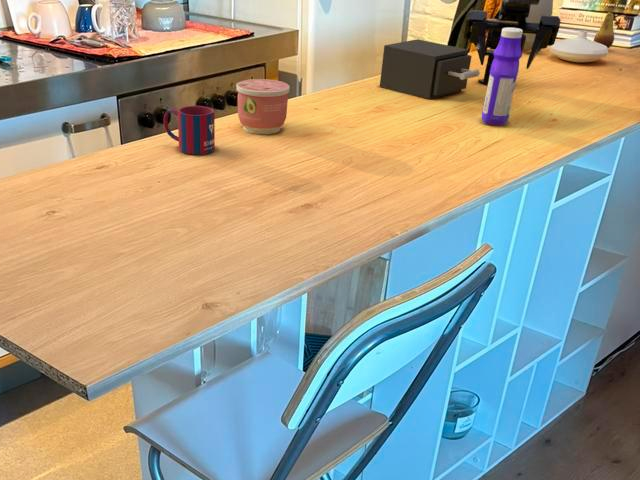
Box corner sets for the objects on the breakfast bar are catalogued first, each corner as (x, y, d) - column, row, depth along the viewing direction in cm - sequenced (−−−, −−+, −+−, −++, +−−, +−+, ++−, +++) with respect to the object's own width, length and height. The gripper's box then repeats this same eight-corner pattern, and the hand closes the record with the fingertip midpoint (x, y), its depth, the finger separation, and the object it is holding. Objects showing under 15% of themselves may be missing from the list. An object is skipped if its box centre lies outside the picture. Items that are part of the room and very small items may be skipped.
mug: (202, 157, 149) (201, 117, 144) (157, 147, 153) (155, 108, 148) (221, 148, 153) (221, 109, 149) (177, 139, 157) (176, 101, 153)
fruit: (614, 50, 238) (627, 2, 230) (605, 52, 235) (619, 4, 227) (596, 47, 241) (609, -1, 233) (587, 49, 238) (600, 1, 230)
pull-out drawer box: (482, 92, 189) (489, 59, 185) (453, 100, 183) (459, 65, 179) (420, 77, 199) (424, 45, 195) (390, 84, 193) (394, 51, 189)
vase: (538, 60, 224) (545, 31, 219) (557, 51, 234) (564, 23, 229) (595, 69, 217) (603, 39, 212) (612, 60, 227) (620, 31, 222)
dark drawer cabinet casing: (461, 91, 194) (468, 49, 188) (429, 99, 187) (435, 56, 181) (412, 79, 202) (417, 39, 196) (379, 86, 195) (384, 45, 189)
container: (228, 123, 166) (228, 80, 161) (275, 119, 170) (277, 77, 164) (247, 137, 159) (248, 93, 154) (295, 133, 162) (298, 89, 157)
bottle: (508, 128, 170) (528, 33, 159) (480, 125, 171) (498, 31, 160) (506, 119, 176) (526, 26, 164) (480, 116, 176) (497, 24, 165)
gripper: (476, -37, 163) (463, 35, 162) (572, -31, 160) (560, 42, 159) (469, 3, 174) (457, 71, 173) (559, 9, 171) (547, 78, 170)
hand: (504, 65), depth 168 cm, fingers open, 9 cm apart
